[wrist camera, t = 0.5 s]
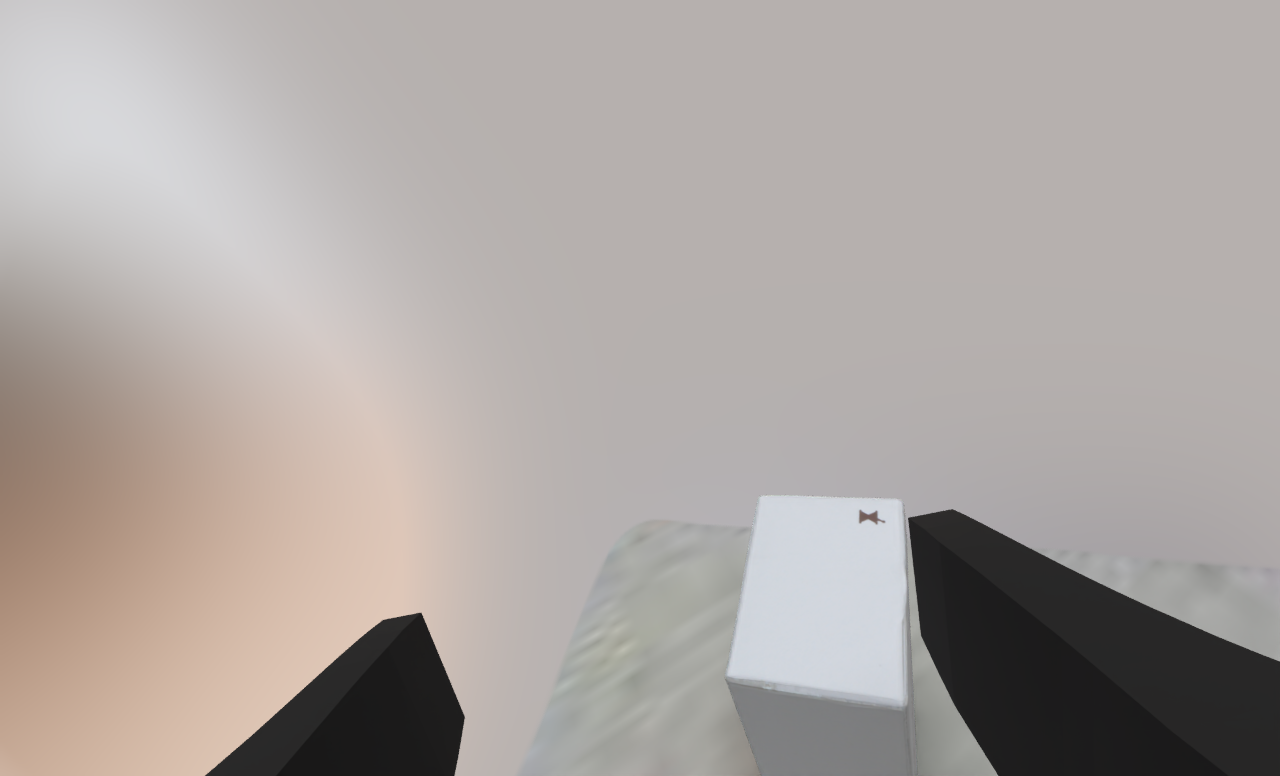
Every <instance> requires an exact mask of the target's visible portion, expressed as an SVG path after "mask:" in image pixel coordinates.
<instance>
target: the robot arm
mask: <svg viewBox="0 0 1280 776" xmlns="http://www.w3.org/2000/svg"><path fill="white" fill-rule="evenodd" d="M908 520H909V529H910V539H911V548H912V557H913V566H914V575H915V584H916V593H917V603H918V612H919V621H920V630H921V636H922V638H923V641H924V643H925V645H926V647H927V649H928V651H929V653H930V655H931V658H932V660H933V662H934V664H935V666H936V668H937V670H938V672H939V675H940V677H941V679H942V681H943V683H944V685H945V687H946V689H947V691H948V693H949V695H950V697H951V699H952V701H953V703H954V705H955V706H956V708H957V710H958V711H959V713H960V715H961V716H962V718H963V720H964V721H965V723H966V724H967V726H968V728H969V729H970V731H971V732H972V734H973V736H974V737H975V739H976V740H977V742H978V744H979V745H980V747H981V748H982V750H983V752H984V753H985V755H986V757H987V758H988V760H989V761H990V763H991V765H992V766H993V768H994V769H995V771H996V772H997V774H998V776H1280V662H1279V661H1277V660H1274V659H1272V658H1269V657H1266V656H1264V655H1261V654H1259V653H1256V652H1254V651H1251V650H1249V649H1246V648H1244V647H1241V646H1239V645H1236V644H1234V643H1232V642H1229V641H1227V640H1224V639H1222V638H1219V637H1217V636H1215V635H1212V634H1210V633H1208V632H1205V631H1203V630H1201V629H1199V628H1196V627H1194V626H1192V625H1190V624H1187V623H1185V622H1183V621H1180V620H1178V619H1176V618H1174V617H1171V616H1169V615H1167V614H1165V613H1162V612H1160V611H1158V610H1155V609H1153V608H1151V607H1149V606H1146V605H1144V604H1142V603H1140V602H1138V601H1136V600H1134V599H1131V598H1129V597H1127V596H1125V595H1123V594H1121V593H1119V592H1116V591H1114V590H1112V589H1110V588H1108V587H1106V586H1104V585H1102V584H1100V583H1098V582H1096V581H1094V580H1092V579H1089V578H1087V577H1085V576H1083V575H1081V574H1079V573H1077V572H1075V571H1073V570H1071V569H1069V568H1067V567H1065V566H1063V565H1061V564H1059V563H1057V562H1055V561H1053V560H1051V559H1049V558H1048V557H1046V556H1044V555H1042V554H1040V553H1038V552H1036V551H1034V550H1032V549H1030V548H1028V547H1026V546H1024V545H1022V544H1020V543H1018V542H1016V541H1015V540H1013V539H1011V538H1009V537H1007V536H1005V535H1003V534H1001V533H999V532H997V531H995V530H993V529H991V528H989V527H988V526H986V525H984V524H982V523H980V522H978V521H976V520H974V519H972V518H970V517H968V516H966V515H964V514H962V513H960V512H957V511H955V510H953V509H952V510H946V511H941V512H936V513H931V514H926V515H921V516H915V517H910V518H908ZM464 719H465V717H464V714H463V712H462V709H461V707H460V705H459V702H458V700H457V697H456V695H455V693H454V690H453V688H452V685H451V683H450V680H449V678H448V676H447V673H446V671H445V668H444V666H443V664H442V661H441V659H440V656H439V654H438V652H437V649H436V647H435V644H434V642H433V640H432V637H431V635H430V632H429V630H428V628H427V625H426V623H425V620H424V618H423V616H422V613H417V614H412V615H406V616H401V617H397V618H391V619H386V620H383V621H381V622H380V623H379V624H377V625H376V626H375V627H373V628H372V629H371V630H370V631H368V632H367V633H366V634H365V635H364V636H362V637H361V638H360V639H359V640H358V641H356V642H355V643H354V644H353V645H352V646H351V647H349V649H347V650H346V651H345V652H344V653H343V654H342V655H341V656H339V657H338V658H337V659H336V660H335V661H334V662H333V663H332V664H331V665H329V666H328V667H327V668H326V669H325V670H324V671H323V672H322V673H321V674H319V675H318V676H317V677H316V678H315V679H314V680H313V681H312V682H311V683H309V684H308V685H307V686H306V687H305V688H304V689H303V690H302V691H301V692H300V693H298V694H297V695H296V696H295V697H294V698H293V699H292V700H291V701H290V702H288V703H287V704H286V705H285V706H284V707H283V708H282V709H281V710H280V711H279V712H277V713H276V714H275V715H274V716H273V717H272V718H271V719H270V720H269V721H267V722H266V723H265V724H264V725H263V726H262V727H261V728H260V729H259V730H257V731H256V732H255V733H254V734H253V735H252V736H251V737H250V738H249V739H247V740H246V741H245V742H244V743H243V744H242V745H240V746H239V747H238V748H237V749H236V750H235V751H233V752H232V753H231V754H230V755H229V756H228V757H226V758H225V759H224V760H223V761H222V762H221V763H220V764H218V765H217V766H216V767H215V768H214V769H212V770H211V771H210V772H209V773H208V774H207V775H205V776H454V775H455V770H456V765H457V760H458V754H459V749H460V743H461V737H462V730H463V725H464Z"/></svg>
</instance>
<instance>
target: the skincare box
mask: <svg viewBox="0 0 1280 776" xmlns="http://www.w3.org/2000/svg"><path fill="white" fill-rule="evenodd" d="M725 680H726V682H727V685H728V687H729V690H730V692H731V695H732V698H733V701H734V703H735V706H736V709H737V711H738V714H739V717H740V719H741V722H742V724H743V727H744V730H745V733H746V736H747V738H748V741H749V743H750V746H751V749H752V752H753V754H754V757H755V760H756V762H757V765H758V768H759V770H760V773H761V776H918V774H917V752H916V730H915V710H914V690H913V672H912V652H911V634H910V610H909V586H908V557H907V534H906V520H905V510H904V503H903V501H902V500H901V499H894V498H850V497H823V496H792V495H789V496H787V495H772V496H771V495H765V496H760V497H759V498H758V501H757V506H756V511H755V516H754V521H753V526H752V531H751V536H750V541H749V546H748V551H747V557H746V563H745V569H744V575H743V581H742V587H741V593H740V599H739V605H738V610H737V616H736V621H735V626H734V631H733V637H732V643H731V649H730V654H729V659H728V664H727V669H726V673H725Z"/></svg>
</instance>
